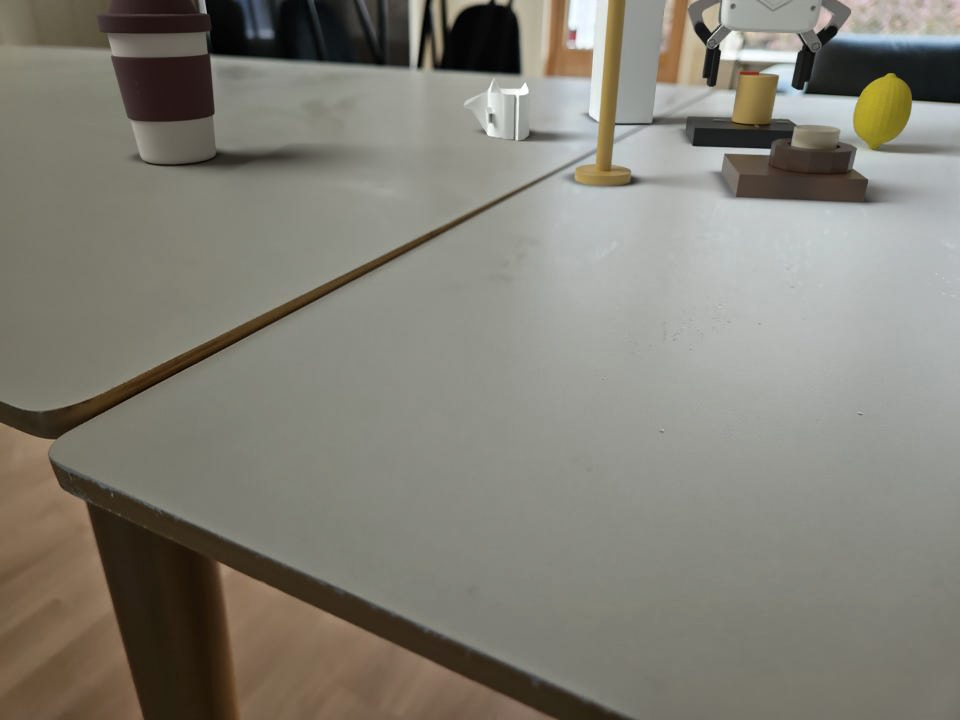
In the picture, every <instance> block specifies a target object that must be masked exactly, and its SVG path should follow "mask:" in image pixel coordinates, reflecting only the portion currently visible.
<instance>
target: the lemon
mask: <svg viewBox="0 0 960 720" xmlns="http://www.w3.org/2000/svg"><path fill="white" fill-rule="evenodd" d="M912 107H913V96H912V91H911V88H910V87H909V85H908V84H907V83H906V82H905V81H904V80H902V79H901V78H899V77H898V76H897V75H896V74H895V73H893V72H890V73H887V74H886V75H884V76H882V77H879V78H877V79H875V80H873V81H871V82H870V83H869V84H868V85H867V86H866V87H865V88H863V90H862V92H861V93H860V95H859V97H858V98H857V101H856V104H855V107H854V110H853V116H852V126H853V129H854V132H855V134H856V136H857V137H858V138H859V139H860V140H862V141H863V142H865V143H866V145H867V146H868V148H869V149H871V150H875V149H878V148H879V147H881V146H882V145H883V144H885V143H889V142H891V141H893V140H894V139H896V138H897V137H898V136H899V135H900V134H901V133H902V132H903V131H904V130H905V128H906V126H907V125H908V122H909V120H910V117H911V114H912V113H911V112H912Z"/></svg>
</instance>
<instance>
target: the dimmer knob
mask: <svg viewBox="0 0 960 720" xmlns="http://www.w3.org/2000/svg"><path fill="white" fill-rule="evenodd" d="M738 72H739V74H738V77H737V84H736V89H735V95H734V96H735V97H734V102H733V108H732V109H733V110H732V115H731V117H732V121H733V122H736V123H741V124H753V125H763V124H769V123H771V119H773V112H774V107H775V101H776V96H777V91H778V86H779V79H780V75H779V74H775V73H767V72H766V73H765V72H760V71H751V70H750V71H748V70H747V71H746V70H745V71H744V70H740V71H738Z"/></svg>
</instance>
